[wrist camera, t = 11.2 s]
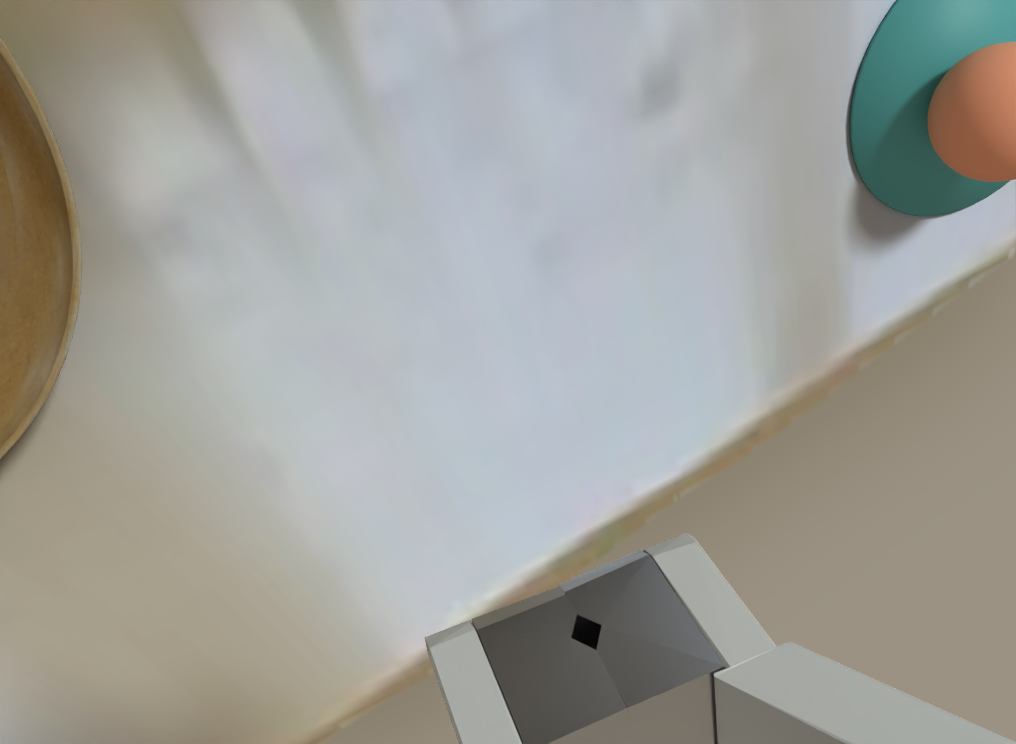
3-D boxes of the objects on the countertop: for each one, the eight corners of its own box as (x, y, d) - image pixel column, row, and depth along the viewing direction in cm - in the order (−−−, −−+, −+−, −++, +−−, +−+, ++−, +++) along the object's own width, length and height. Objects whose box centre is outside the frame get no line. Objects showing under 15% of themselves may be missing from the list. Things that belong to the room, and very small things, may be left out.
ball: (1047, 81, 32) (1128, 39, 34) (911, 50, 36) (992, 14, 38) (1011, 219, 36) (1087, 172, 38) (890, 177, 39) (966, 137, 42)
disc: (856, -32, 35) (860, -31, 34) (1112, -102, 37) (1116, -102, 36) (844, 246, 41) (847, 247, 41) (1061, 173, 43) (1064, 174, 43)
